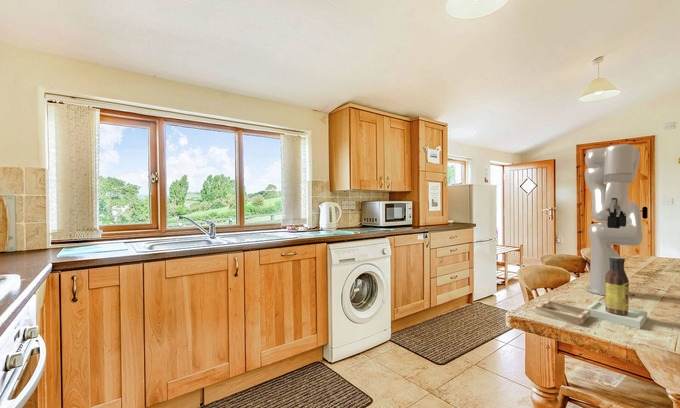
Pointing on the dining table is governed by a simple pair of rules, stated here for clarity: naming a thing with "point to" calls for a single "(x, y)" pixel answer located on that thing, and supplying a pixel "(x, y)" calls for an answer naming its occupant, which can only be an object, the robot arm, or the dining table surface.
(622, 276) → the sauce bottle
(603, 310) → the shallow square tray
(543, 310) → the tan flat square frame
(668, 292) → the dining table surface
